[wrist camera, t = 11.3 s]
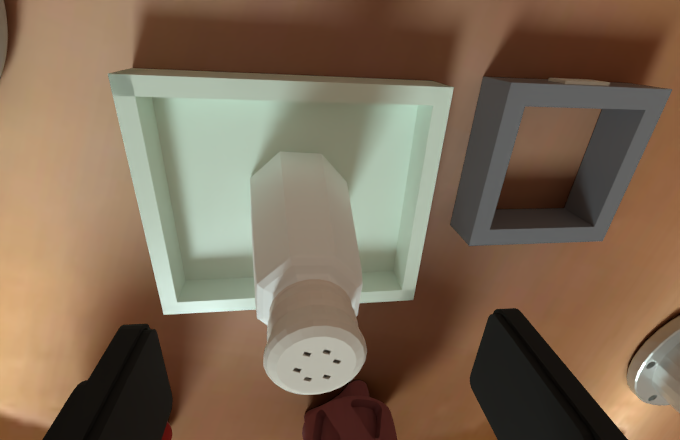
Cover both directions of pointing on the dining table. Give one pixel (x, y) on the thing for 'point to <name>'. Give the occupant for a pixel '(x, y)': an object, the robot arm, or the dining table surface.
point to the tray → (258, 149)
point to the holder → (594, 173)
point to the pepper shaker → (306, 273)
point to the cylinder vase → (3, 35)
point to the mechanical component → (350, 417)
